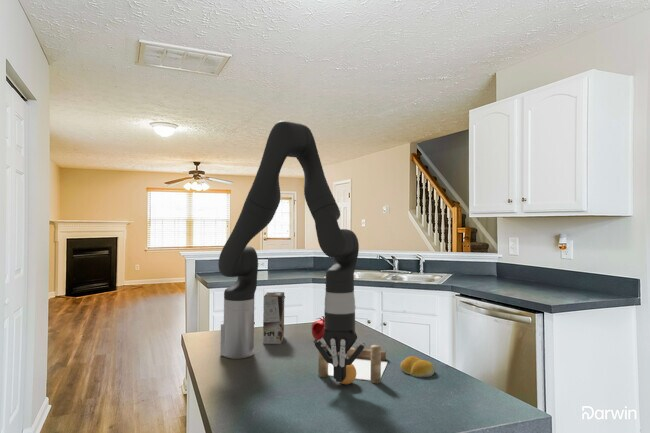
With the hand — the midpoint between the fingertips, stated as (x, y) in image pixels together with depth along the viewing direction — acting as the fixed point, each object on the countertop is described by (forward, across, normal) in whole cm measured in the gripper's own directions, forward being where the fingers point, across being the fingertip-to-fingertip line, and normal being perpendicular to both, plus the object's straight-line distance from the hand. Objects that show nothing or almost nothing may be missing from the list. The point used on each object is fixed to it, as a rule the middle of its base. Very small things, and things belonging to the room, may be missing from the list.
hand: (340, 380), depth 103 cm
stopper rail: (+2, 0, +26) cm, 26 cm away
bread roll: (+2, +17, +19) cm, 25 cm away
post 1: (+2, -7, +8) cm, 10 cm away
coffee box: (+1, -33, +34) cm, 48 cm away
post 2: (+2, +8, +8) cm, 11 cm away
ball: (-1, 0, +4) cm, 4 cm away
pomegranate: (+1, -16, +41) cm, 44 cm away
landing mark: (+2, 0, +16) cm, 16 cm away
